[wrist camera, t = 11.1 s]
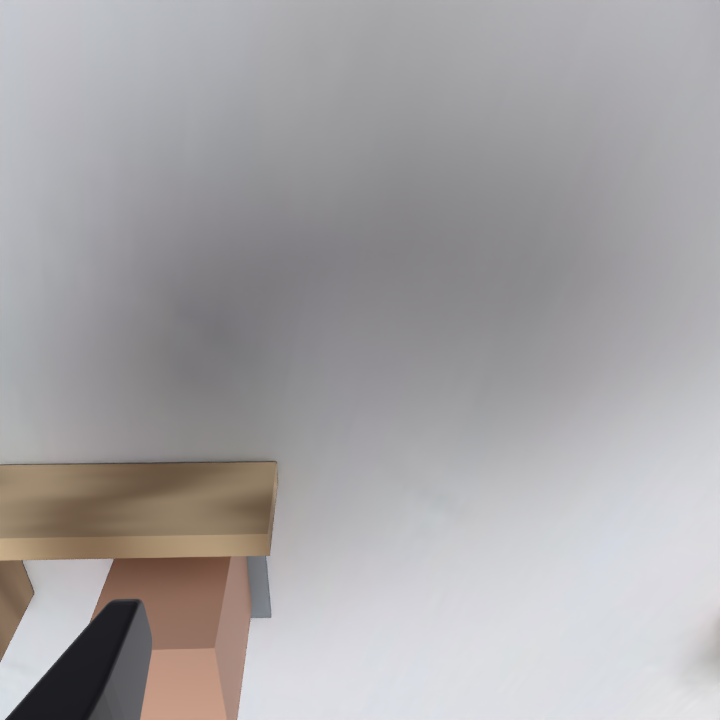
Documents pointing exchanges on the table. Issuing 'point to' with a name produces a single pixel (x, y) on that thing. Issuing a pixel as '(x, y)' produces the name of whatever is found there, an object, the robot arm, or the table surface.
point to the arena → (132, 520)
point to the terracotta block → (189, 631)
